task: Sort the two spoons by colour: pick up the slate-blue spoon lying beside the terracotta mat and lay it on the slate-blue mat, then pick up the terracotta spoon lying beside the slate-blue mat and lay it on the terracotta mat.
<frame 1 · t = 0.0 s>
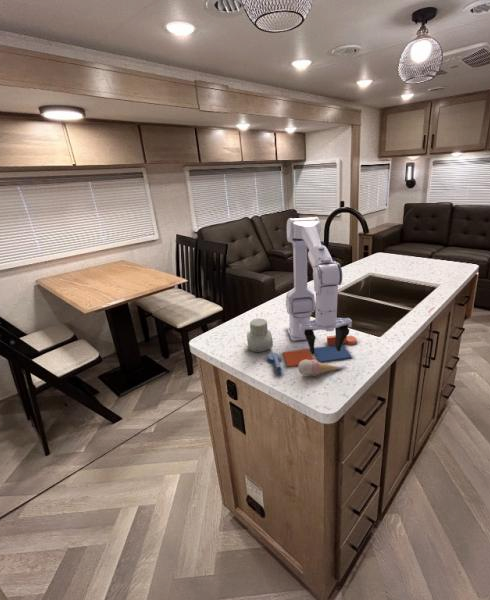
hand: (324, 351, 91), 10 cm above the countertop, tool pointing down, fingers open, 7 cm apart
blue mat: (331, 353, 108), on the countertop
terracotta spoon: (336, 343, 114), on the countertop
ice cream cone: (319, 372, 99), on the countertop
air freshener: (260, 347, 113), on the countertop
blue spoon: (277, 368, 101), on the countertop
terracotta mat: (298, 358, 106), on the countertop
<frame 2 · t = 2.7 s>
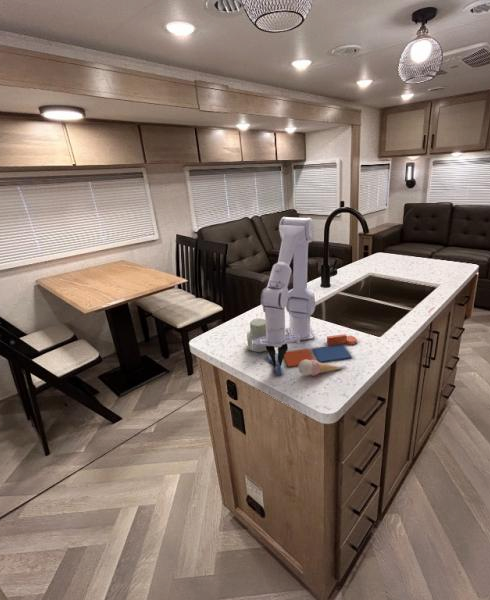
hand: (276, 364, 100), 2 cm above the countertop, tool pointing down, fingers closed on blue spoon
blue spoon: (277, 368, 101), on the countertop, touching gripper
everything else where it was.
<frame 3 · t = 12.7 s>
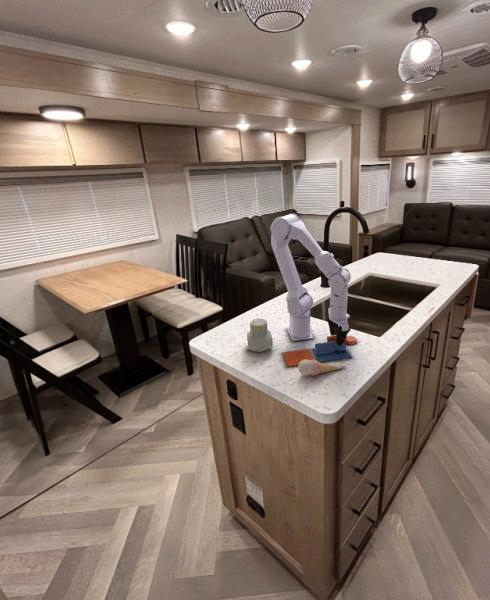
hand: (336, 339, 113), 2 cm above the countertop, tool pointing down, fingers open, 6 cm apart
blue spoon: (325, 351, 107), point 1 cm above the countertop, tilted 20°, touching blue mat, gripper
everything else where it was.
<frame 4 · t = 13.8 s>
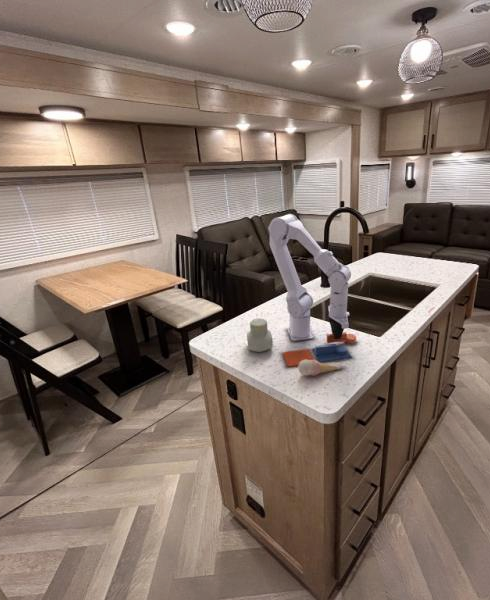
hand: (336, 337, 113), 2 cm above the countertop, tool pointing down, fingers closed on terracotta spoon
terracotta spoon: (336, 341, 114), point 1 cm above the countertop, touching gripper
blue spoon: (325, 353, 107), resting on blue mat
everything else where it was.
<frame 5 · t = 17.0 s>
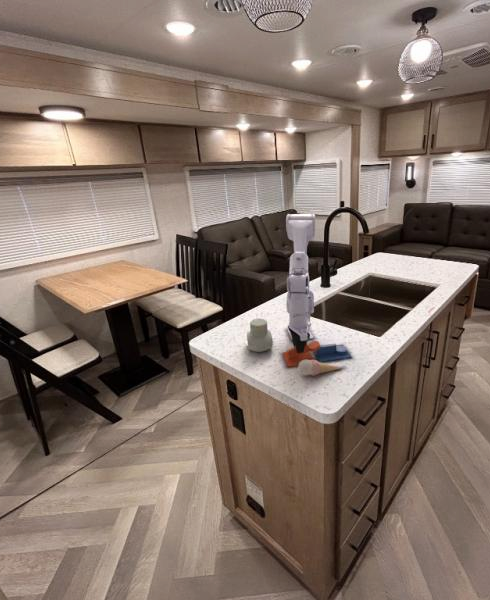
hand: (298, 349, 104), 4 cm above the countertop, tool pointing down, fingers open, 4 cm apart
terracotta spoon: (299, 354, 105), point 2 cm above the countertop, tilted 19°, touching blue spoon, terracotta mat
blue spoon: (325, 353, 107), resting on blue mat, touching terracotta spoon
everything else where it was.
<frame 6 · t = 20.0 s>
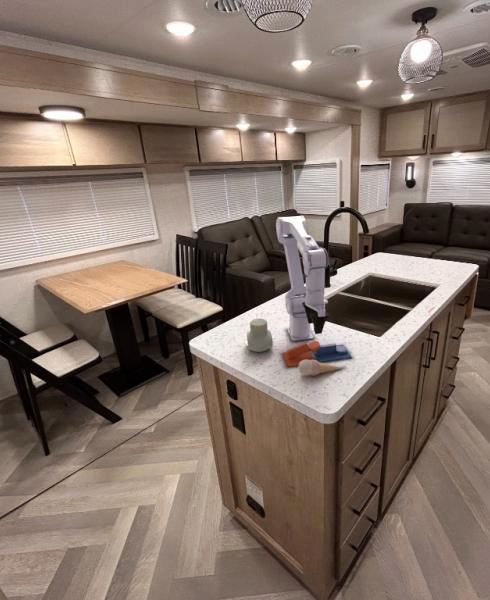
hand: (314, 328, 103), 10 cm above the countertop, tool pointing down, fingers open, 7 cm apart
nothing on the countertop moved.
at the end: terracotta spoon inside the target area (0.4 cm from its centre), point 1.6 cm above the countertop; blue spoon inside the target area (0.6 cm from its centre), point 0.5 cm above the countertop; the gripper is holding nothing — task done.
